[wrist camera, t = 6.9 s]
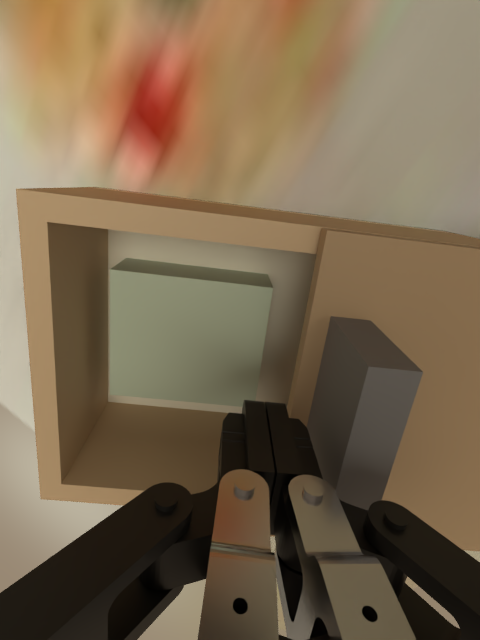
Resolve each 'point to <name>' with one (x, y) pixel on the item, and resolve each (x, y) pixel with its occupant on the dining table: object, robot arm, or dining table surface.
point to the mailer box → (159, 329)
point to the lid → (395, 376)
